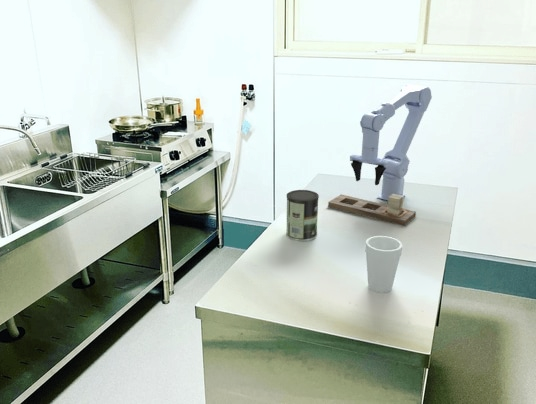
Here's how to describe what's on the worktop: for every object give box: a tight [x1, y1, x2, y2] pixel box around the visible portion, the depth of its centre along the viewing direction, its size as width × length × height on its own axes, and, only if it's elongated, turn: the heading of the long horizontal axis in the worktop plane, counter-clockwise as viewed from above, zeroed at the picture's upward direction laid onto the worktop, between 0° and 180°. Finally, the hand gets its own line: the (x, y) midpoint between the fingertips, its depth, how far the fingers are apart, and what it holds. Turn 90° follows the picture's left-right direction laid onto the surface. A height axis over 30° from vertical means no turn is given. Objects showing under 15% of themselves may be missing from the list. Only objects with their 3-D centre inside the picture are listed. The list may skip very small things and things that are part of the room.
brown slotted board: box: [327, 193, 417, 227], centre depth 193 cm, size 10×30×2 cm, turn 55°
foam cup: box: [364, 235, 403, 294], centre depth 141 cm, size 10×9×13 cm
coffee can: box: [286, 189, 320, 242], centre depth 172 cm, size 10×10×14 cm
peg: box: [387, 194, 405, 216], centre depth 187 cm, size 4×4×8 cm
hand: (367, 182), depth 195 cm, fingers open, 7 cm apart
